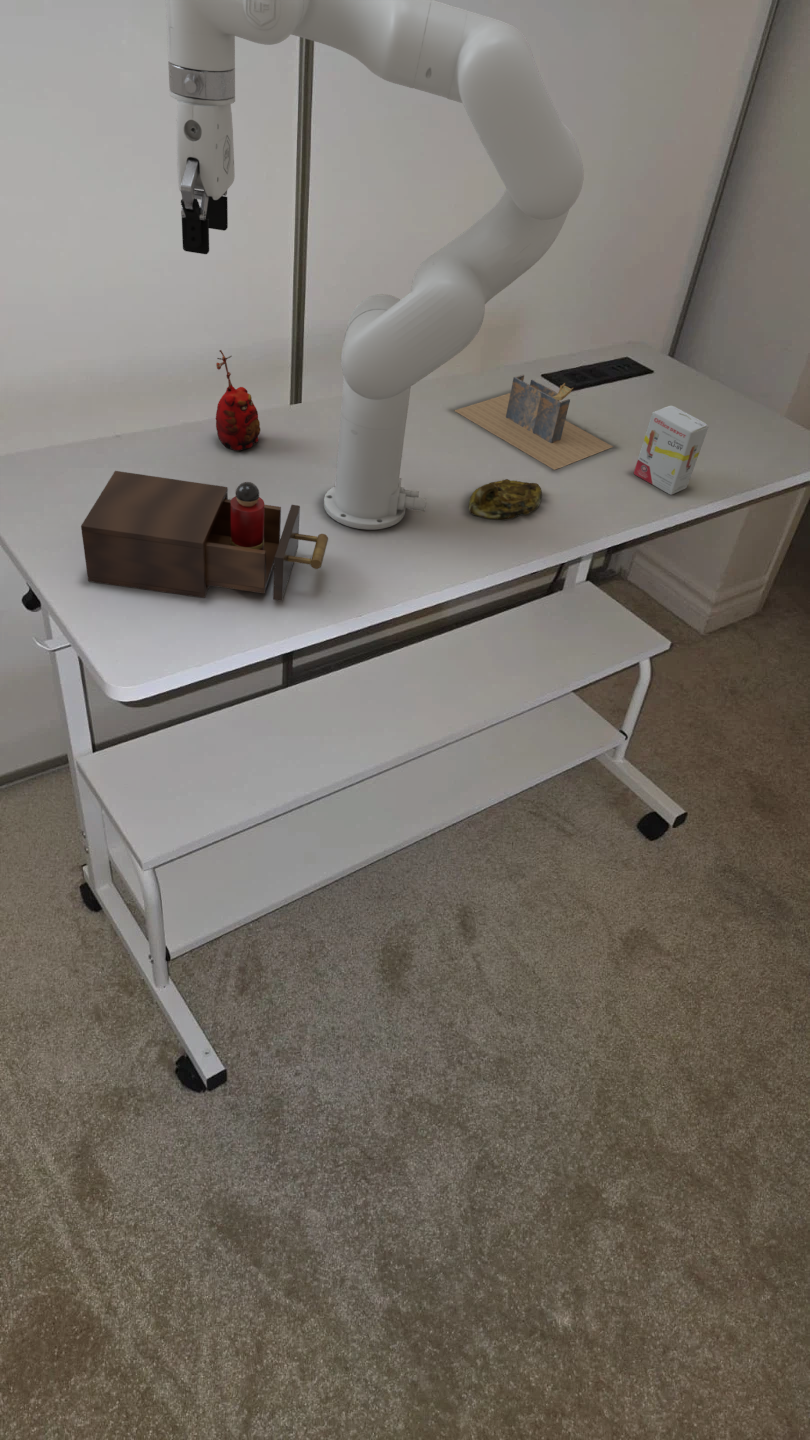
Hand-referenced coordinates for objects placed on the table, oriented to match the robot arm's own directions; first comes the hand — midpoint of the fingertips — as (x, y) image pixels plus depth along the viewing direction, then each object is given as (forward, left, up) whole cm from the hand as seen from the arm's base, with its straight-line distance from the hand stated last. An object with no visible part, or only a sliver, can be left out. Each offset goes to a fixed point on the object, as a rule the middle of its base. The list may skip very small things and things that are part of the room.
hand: (205, 239), depth 123 cm
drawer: (-11, +20, -35) cm, 42 cm away
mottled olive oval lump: (-46, -9, -36) cm, 59 cm away
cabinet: (+2, +20, -36) cm, 41 cm away
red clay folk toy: (-1, -16, -36) cm, 40 cm away
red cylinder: (-10, +20, -34) cm, 41 cm away
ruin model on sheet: (-51, -37, -36) cm, 72 cm away
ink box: (-73, -24, -36) cm, 85 cm away
